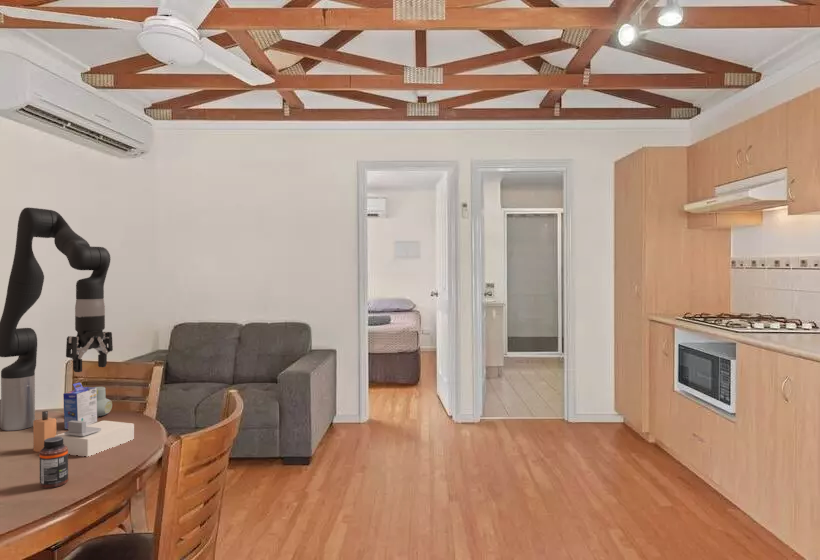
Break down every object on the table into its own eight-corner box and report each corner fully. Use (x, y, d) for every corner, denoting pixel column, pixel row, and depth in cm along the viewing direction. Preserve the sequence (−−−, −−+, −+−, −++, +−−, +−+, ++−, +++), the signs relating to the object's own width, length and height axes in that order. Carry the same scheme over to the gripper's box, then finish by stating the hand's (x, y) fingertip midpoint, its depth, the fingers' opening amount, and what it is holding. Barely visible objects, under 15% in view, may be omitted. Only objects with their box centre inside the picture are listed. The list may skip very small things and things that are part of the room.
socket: (55, 452, 158) (55, 435, 158) (103, 435, 174) (103, 420, 174) (87, 457, 154) (87, 439, 154) (133, 439, 171) (133, 423, 171)
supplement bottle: (48, 480, 137) (48, 435, 137) (73, 479, 138) (73, 435, 138) (34, 489, 131) (34, 442, 131) (60, 488, 132) (60, 442, 132)
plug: (33, 451, 159) (33, 412, 159) (45, 447, 163) (45, 409, 162) (44, 452, 158) (44, 413, 158) (56, 448, 161) (56, 410, 161)
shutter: (64, 434, 158) (64, 421, 158) (83, 428, 164) (83, 416, 164) (82, 436, 156) (82, 423, 156) (101, 430, 162) (101, 418, 162)
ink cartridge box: (83, 421, 191) (83, 380, 191) (98, 421, 190) (98, 380, 190) (62, 429, 181) (62, 386, 181) (78, 430, 180) (78, 386, 180)
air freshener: (102, 419, 194) (102, 391, 194) (77, 419, 193) (77, 391, 193) (114, 411, 205) (114, 384, 205) (90, 412, 204) (90, 385, 203)
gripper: (99, 312, 167) (99, 365, 168) (58, 315, 154) (58, 373, 154) (119, 312, 166) (119, 366, 166) (79, 316, 152) (80, 374, 152)
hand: (90, 369), depth 160 cm, fingers open, 8 cm apart
